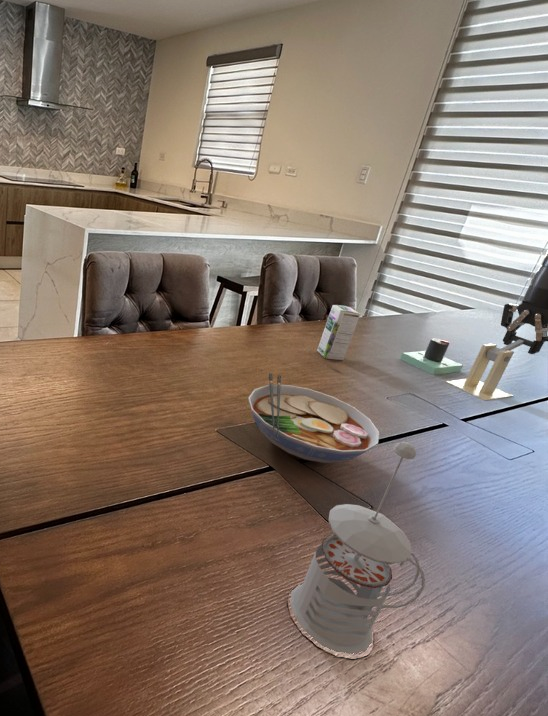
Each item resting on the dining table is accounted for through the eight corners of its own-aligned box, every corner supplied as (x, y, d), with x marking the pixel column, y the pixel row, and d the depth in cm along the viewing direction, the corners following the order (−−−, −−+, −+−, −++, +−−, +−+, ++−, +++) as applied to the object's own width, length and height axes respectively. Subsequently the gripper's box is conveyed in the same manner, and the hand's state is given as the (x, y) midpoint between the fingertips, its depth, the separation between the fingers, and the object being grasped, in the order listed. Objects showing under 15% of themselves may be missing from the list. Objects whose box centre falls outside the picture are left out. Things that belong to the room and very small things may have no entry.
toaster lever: (512, 340, 125) (515, 332, 124) (534, 348, 121) (536, 340, 119) (480, 356, 122) (482, 348, 121) (501, 364, 118) (503, 356, 117)
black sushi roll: (423, 358, 134) (431, 339, 132) (423, 354, 138) (431, 335, 135) (441, 363, 132) (450, 344, 130) (441, 358, 136) (449, 340, 133)
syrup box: (316, 350, 139) (331, 304, 133) (335, 352, 139) (351, 306, 133) (324, 358, 133) (340, 310, 128) (344, 361, 134) (361, 313, 128)
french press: (283, 572, 61) (345, 408, 52) (380, 603, 59) (464, 435, 49) (289, 641, 53) (364, 458, 43) (403, 680, 50) (511, 495, 40)
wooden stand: (471, 381, 130) (491, 339, 125) (511, 399, 122) (534, 355, 117) (443, 385, 126) (463, 341, 121) (482, 404, 117) (506, 357, 112)
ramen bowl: (377, 508, 75) (395, 467, 72) (233, 464, 82) (244, 425, 79) (356, 431, 97) (369, 397, 94) (244, 402, 104) (253, 368, 101)
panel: (425, 359, 142) (429, 350, 141) (458, 374, 134) (463, 364, 133) (398, 362, 138) (402, 352, 137) (431, 377, 130) (436, 367, 128)
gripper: (594, 295, 112) (559, 359, 118) (526, 278, 124) (497, 337, 130) (577, 296, 109) (542, 362, 115) (509, 278, 121) (481, 338, 127)
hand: (518, 348), depth 123 cm, fingers closed on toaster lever, 5 cm apart
